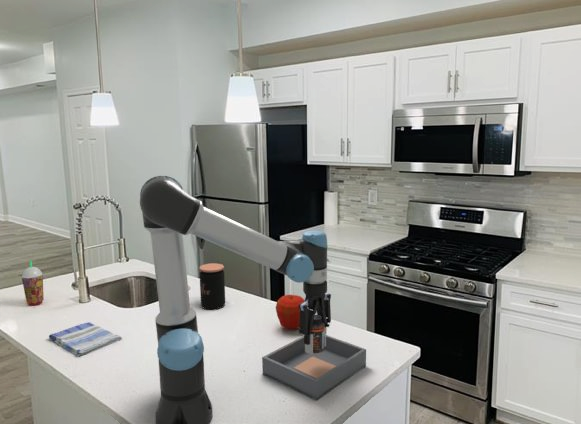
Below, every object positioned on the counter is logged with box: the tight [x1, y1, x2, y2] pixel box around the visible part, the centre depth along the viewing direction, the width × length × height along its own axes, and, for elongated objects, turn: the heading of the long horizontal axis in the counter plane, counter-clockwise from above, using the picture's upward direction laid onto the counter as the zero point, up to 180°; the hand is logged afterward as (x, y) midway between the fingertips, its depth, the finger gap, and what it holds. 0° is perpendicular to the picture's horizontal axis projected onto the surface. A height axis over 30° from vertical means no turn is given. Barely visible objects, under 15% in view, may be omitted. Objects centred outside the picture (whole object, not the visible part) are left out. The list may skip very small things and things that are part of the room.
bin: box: [261, 334, 367, 401], centre depth 151 cm, size 26×22×6 cm
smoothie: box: [21, 260, 45, 307], centre depth 209 cm, size 8×8×20 cm
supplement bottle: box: [311, 313, 325, 353], centre depth 149 cm, size 6×6×11 cm
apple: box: [275, 294, 305, 331], centre depth 182 cm, size 12×12×14 cm
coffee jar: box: [198, 262, 226, 311], centre depth 205 cm, size 11×11×18 cm
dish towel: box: [48, 321, 123, 357], centre depth 175 cm, size 17×24×3 cm
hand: (315, 348), depth 150 cm, fingers closed on supplement bottle, 6 cm apart
